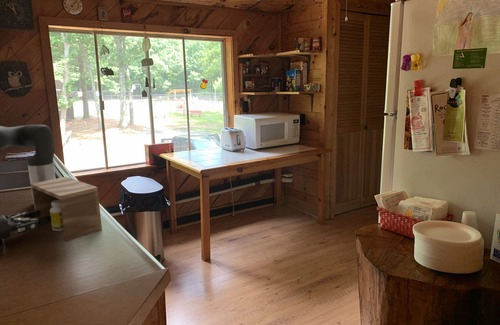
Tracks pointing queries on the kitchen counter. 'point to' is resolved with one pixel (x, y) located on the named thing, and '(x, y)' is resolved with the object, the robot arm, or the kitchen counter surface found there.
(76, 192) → the cubby
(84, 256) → the kitchen counter surface
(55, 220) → the supplement bottle
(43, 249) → the kitchen counter surface
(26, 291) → the kitchen counter surface
